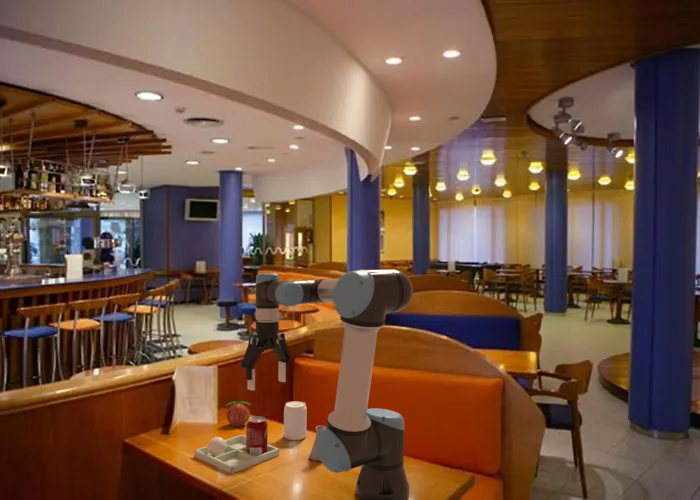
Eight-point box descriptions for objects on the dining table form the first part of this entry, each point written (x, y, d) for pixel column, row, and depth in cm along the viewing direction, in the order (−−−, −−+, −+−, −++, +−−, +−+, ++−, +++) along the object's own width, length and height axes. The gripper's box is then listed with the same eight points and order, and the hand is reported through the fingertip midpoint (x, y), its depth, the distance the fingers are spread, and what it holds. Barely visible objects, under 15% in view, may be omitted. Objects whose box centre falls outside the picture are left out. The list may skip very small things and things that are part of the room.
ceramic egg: (230, 455, 179) (230, 437, 179) (214, 461, 175) (214, 442, 174) (218, 450, 183) (219, 432, 183) (203, 456, 178) (203, 437, 178)
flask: (304, 459, 180) (305, 428, 180) (316, 451, 186) (316, 422, 186) (324, 463, 177) (324, 432, 176) (335, 455, 183) (335, 425, 183)
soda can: (262, 460, 176) (263, 423, 175) (242, 458, 177) (243, 421, 177) (270, 452, 182) (270, 416, 182) (250, 450, 184) (251, 414, 183)
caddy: (279, 457, 180) (279, 448, 180) (231, 476, 166) (232, 467, 166) (241, 443, 193) (241, 434, 193) (194, 459, 178) (194, 450, 178)
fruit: (248, 429, 207) (248, 402, 206) (222, 429, 206) (223, 402, 206) (251, 421, 215) (252, 395, 215) (227, 421, 215) (227, 395, 215)
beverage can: (280, 435, 201) (281, 402, 201) (301, 432, 205) (302, 399, 204) (287, 442, 194) (288, 408, 194) (309, 439, 197) (310, 406, 197)
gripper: (286, 315, 192) (286, 376, 193) (229, 323, 173) (229, 391, 173) (302, 317, 188) (301, 380, 188) (245, 326, 168) (245, 395, 168)
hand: (267, 385), depth 181 cm, fingers open, 13 cm apart
